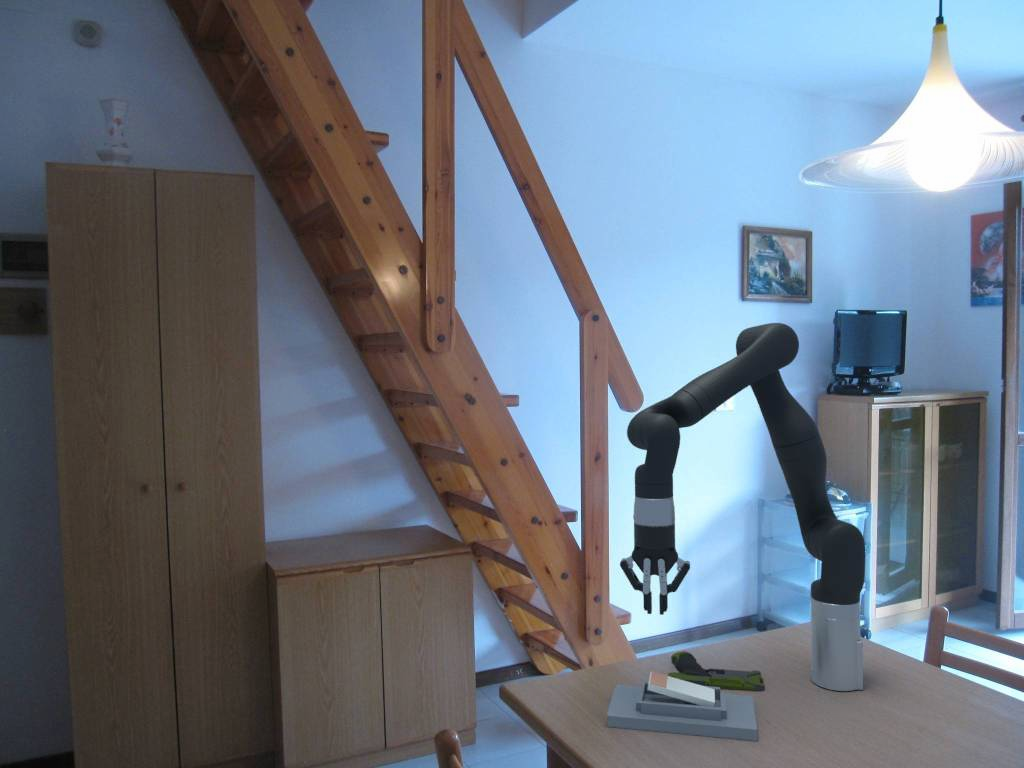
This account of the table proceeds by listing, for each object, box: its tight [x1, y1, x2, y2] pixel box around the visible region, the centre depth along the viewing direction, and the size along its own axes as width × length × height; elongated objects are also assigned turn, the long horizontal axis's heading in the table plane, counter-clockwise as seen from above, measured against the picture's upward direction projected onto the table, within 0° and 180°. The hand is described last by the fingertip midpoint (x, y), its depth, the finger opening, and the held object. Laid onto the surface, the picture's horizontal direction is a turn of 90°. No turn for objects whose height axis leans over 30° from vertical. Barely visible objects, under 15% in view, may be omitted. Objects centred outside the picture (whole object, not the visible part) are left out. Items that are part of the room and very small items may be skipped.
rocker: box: [647, 670, 715, 707], centre depth 143 cm, size 12×6×1 cm, turn 76°
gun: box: [667, 650, 766, 692], centre depth 163 cm, size 2×19×15 cm
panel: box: [606, 680, 758, 742], centre depth 144 cm, size 26×14×4 cm, turn 76°
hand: (655, 612), depth 144 cm, fingers closed
